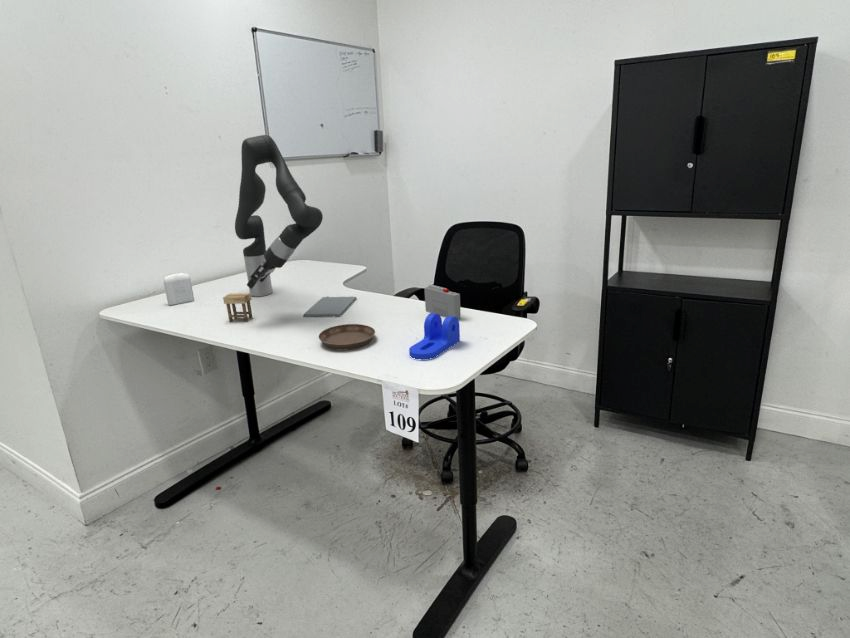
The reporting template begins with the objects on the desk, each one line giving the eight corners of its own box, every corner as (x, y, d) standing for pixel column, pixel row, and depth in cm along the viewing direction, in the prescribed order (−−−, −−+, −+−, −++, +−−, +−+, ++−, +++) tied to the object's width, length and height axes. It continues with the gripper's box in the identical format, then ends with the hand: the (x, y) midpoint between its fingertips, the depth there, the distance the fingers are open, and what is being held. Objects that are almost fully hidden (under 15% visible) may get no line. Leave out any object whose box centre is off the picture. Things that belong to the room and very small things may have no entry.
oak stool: (234, 317, 196) (230, 293, 193) (254, 317, 194) (250, 293, 191) (227, 322, 191) (222, 297, 188) (248, 322, 190) (243, 297, 187)
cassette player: (460, 318, 181) (459, 291, 177) (454, 320, 179) (453, 292, 176) (431, 309, 192) (430, 283, 189) (425, 311, 191) (424, 285, 187)
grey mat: (323, 299, 212) (323, 297, 212) (356, 299, 210) (356, 296, 210) (303, 316, 192) (303, 314, 191) (340, 316, 190) (339, 314, 189)
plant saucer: (386, 341, 165) (386, 332, 164) (339, 357, 154) (338, 348, 153) (355, 328, 178) (354, 320, 177) (309, 343, 167) (308, 334, 166)
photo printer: (193, 299, 224) (187, 270, 220) (195, 301, 220) (189, 272, 216) (167, 304, 218) (161, 275, 214) (169, 306, 215) (162, 277, 211)
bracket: (437, 337, 165) (435, 310, 162) (459, 341, 161) (459, 313, 158) (403, 357, 151) (401, 328, 148) (428, 362, 147) (426, 332, 144)
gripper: (280, 240, 188) (255, 271, 193) (262, 248, 175) (236, 281, 180) (296, 254, 189) (270, 285, 194) (280, 263, 175) (253, 296, 181)
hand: (254, 283), depth 187 cm, fingers open, 8 cm apart
